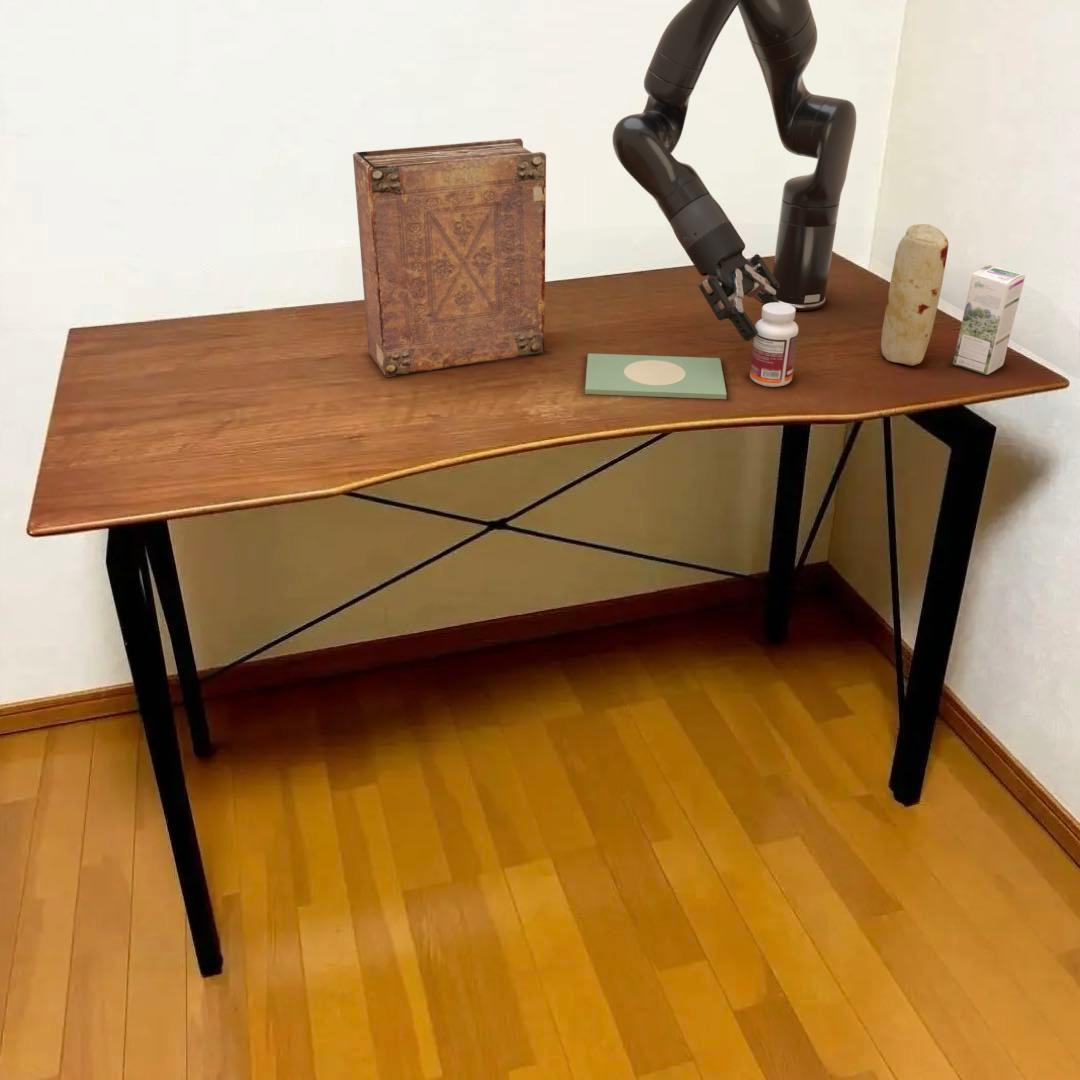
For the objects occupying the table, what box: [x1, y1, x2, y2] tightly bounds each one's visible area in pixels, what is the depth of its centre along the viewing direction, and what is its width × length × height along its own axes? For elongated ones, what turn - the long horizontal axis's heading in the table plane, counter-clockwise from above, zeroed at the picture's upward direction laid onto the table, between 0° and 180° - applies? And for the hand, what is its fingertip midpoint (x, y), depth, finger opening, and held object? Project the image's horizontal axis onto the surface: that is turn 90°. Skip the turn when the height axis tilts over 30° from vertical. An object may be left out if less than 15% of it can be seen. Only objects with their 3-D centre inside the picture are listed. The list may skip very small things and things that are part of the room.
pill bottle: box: [749, 302, 799, 388], centre depth 161 cm, size 6×6×11 cm
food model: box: [880, 223, 950, 366], centre depth 166 cm, size 10×7×20 cm
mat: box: [584, 353, 728, 400], centre depth 164 cm, size 13×20×1 cm, turn 86°
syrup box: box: [952, 264, 1026, 376], centre depth 165 cm, size 6×6×14 cm
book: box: [352, 137, 547, 378], centre depth 163 cm, size 25×9×30 cm, turn 112°
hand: (767, 329), depth 161 cm, fingers open, 8 cm apart
